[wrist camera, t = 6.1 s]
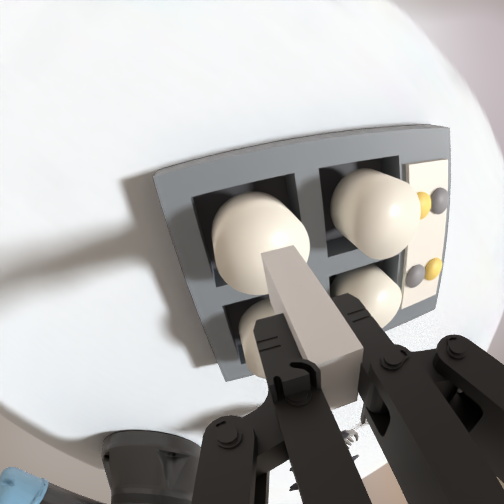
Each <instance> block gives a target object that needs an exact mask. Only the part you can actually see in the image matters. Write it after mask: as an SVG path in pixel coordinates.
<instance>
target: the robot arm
mask: <svg viewBox="0 0 504 504" xmlns="http://www.w3.org/2000/svg"><path fill="white" fill-rule="evenodd" d="M261 258H262V263H263V268H264V273H265V278H266V283H267V288H268V293H269V298H270V303H271V305H272V308H273V310H274V313H275V315H274V316H270V317H266V318H262V319H259V320H256V323H255V326H254V330H253V333H254V336H255V340H256V344H257V348H258V351H259V355H260V359H261V362H262V366H263V370H264V373H265V377H266V380H267V384H268V389H269V391H268V396H267V398H266V400H265V402H264V403H263V404H262V405H261V406H260V407H259V408H258V409H256V410H255V411H253V412H251V413H250V414H248V415H246V416H244V417H238V416H232V415H230V416H224V417H220V418H218V419H216V420H214V421H213V422H212V423H211V424H210V425H209V426H208V427H207V428H206V430H205V433H204V435H203V440H202V446H201V447H200V446H199V445H197V444H196V443H194V442H192V441H190V440H187V439H184V438H181V437H178V436H174V435H170V434H165V433H159V432H151V431H124V432H118V433H114V434H112V435H109V436H108V437H106V438H105V439H104V441H103V447H102V460H103V464H104V468H105V472H106V475H107V478H108V482H109V485H110V489H111V495H112V496H111V504H268V494H269V472H270V470H272V469H274V468H275V467H277V466H279V465H280V464H282V463H284V462H285V461H287V460H290V463H291V466H292V470H293V473H294V476H295V479H296V483H297V486H298V489H299V492H300V496H301V499H302V502H303V504H372V503H371V500H370V498H369V496H368V494H367V491H366V489H365V487H364V484H363V482H362V480H361V477H360V475H359V473H358V470H357V468H356V466H355V464H354V461H353V459H352V457H351V454H350V452H349V450H348V448H347V445H346V443H345V441H344V438H343V436H342V434H341V432H340V429H339V427H338V425H337V423H336V420H335V418H334V416H333V414H332V411H331V410H333V409H336V408H339V407H341V406H344V405H347V404H350V403H352V402H355V401H357V397H358V392H359V394H360V396H361V398H362V400H363V402H364V404H363V409H362V414H361V423H362V424H364V423H365V420H366V419H367V421H368V423H369V425H370V427H371V429H372V431H373V433H374V435H375V437H376V439H377V441H378V443H379V445H380V447H381V449H382V451H383V453H384V455H385V457H386V459H387V461H388V463H389V465H390V467H391V469H392V471H393V473H394V475H395V477H396V479H397V481H398V483H399V485H400V487H401V489H402V491H403V494H404V496H405V498H406V500H407V502H408V504H504V489H503V488H502V486H501V484H500V482H499V481H498V479H497V477H498V478H499V479H500V480H501V481H502V482H503V483H504V365H503V364H502V363H500V362H499V361H498V360H496V359H495V358H494V357H492V356H491V355H489V354H488V353H487V352H485V351H484V350H483V349H481V348H480V347H478V346H477V345H476V344H474V343H473V342H471V341H470V340H468V339H467V338H465V337H463V336H461V335H448V336H446V337H444V338H442V339H441V340H440V342H439V343H438V345H437V348H436V349H431V350H424V351H417V352H411V351H409V350H408V349H407V348H406V347H403V346H401V345H396V344H394V343H393V342H392V341H391V340H390V339H389V337H388V336H387V335H386V333H385V332H384V331H383V329H382V328H381V327H380V326H379V324H378V323H377V322H376V320H375V319H374V318H373V316H371V314H370V313H369V311H368V310H367V309H366V308H365V306H364V305H363V304H362V302H361V301H360V300H359V299H358V298H356V297H354V296H353V295H351V294H349V293H345V294H342V295H339V296H336V297H333V298H330V296H329V295H328V293H327V292H326V291H325V289H324V288H323V286H322V285H321V283H320V282H319V280H318V279H317V277H316V276H315V275H314V273H313V272H312V270H311V269H310V267H309V266H308V265H307V263H306V262H305V260H304V259H303V257H302V256H301V255H300V253H299V252H298V250H297V249H296V247H295V246H294V245H291V246H287V247H283V248H279V249H275V250H271V251H267V252H263V253H261ZM496 476H497V477H496ZM0 504H106V503H102V502H99V501H96V500H93V499H90V498H87V497H84V496H82V495H79V494H76V493H74V492H71V491H69V490H66V489H64V488H61V487H59V486H57V485H54V484H52V483H50V482H48V481H47V480H45V479H44V478H38V477H36V476H34V475H32V474H29V473H27V472H25V471H23V470H21V469H19V468H15V467H8V468H6V469H4V470H3V472H2V473H1V475H0Z"/></svg>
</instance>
